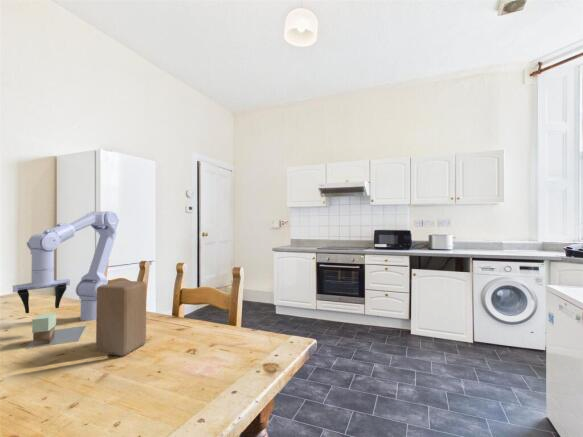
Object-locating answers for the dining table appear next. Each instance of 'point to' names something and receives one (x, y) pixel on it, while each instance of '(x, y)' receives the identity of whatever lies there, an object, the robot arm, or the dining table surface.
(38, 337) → the walnut brick
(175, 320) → the dining table surface
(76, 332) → the baseplate
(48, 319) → the green brick
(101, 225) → the robot arm
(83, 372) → the dining table surface
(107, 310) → the block
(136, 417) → the dining table surface
